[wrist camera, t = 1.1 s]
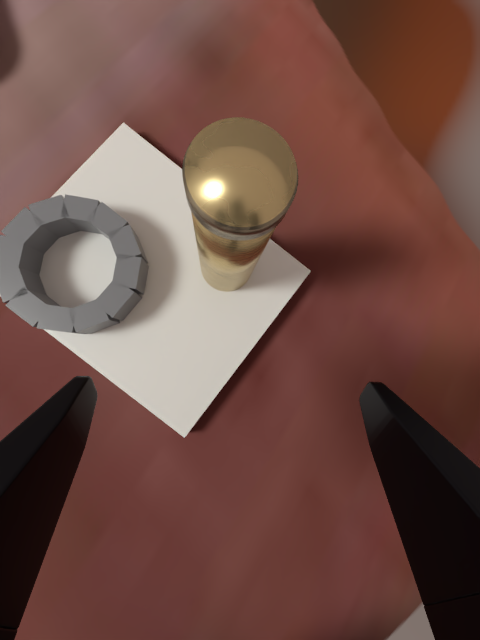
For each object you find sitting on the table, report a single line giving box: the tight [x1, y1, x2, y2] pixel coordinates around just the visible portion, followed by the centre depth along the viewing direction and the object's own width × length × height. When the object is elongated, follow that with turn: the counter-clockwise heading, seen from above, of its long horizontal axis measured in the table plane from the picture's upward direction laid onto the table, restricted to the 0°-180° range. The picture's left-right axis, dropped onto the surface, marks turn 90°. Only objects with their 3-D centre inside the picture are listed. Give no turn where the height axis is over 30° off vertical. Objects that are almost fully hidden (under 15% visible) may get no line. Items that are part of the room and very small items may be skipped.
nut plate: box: [0, 123, 311, 438], centre depth 21 cm, size 19×16×3 cm
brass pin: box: [182, 118, 298, 292], centre depth 16 cm, size 4×4×12 cm
